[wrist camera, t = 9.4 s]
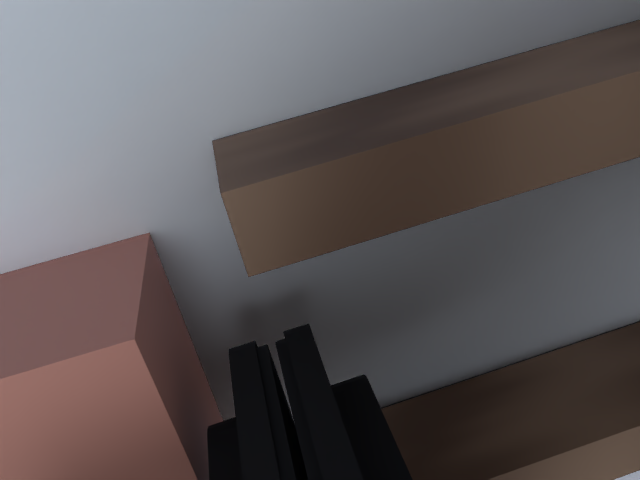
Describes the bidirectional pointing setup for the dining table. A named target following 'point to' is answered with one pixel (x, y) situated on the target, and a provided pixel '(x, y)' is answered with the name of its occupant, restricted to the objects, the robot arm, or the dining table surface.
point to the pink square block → (100, 371)
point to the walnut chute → (450, 198)
